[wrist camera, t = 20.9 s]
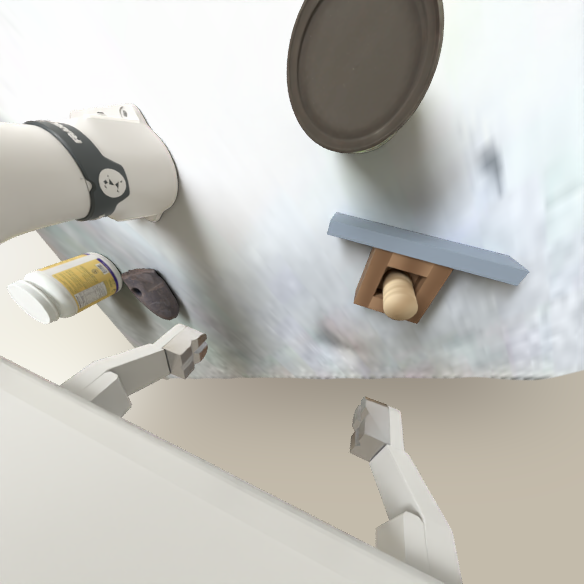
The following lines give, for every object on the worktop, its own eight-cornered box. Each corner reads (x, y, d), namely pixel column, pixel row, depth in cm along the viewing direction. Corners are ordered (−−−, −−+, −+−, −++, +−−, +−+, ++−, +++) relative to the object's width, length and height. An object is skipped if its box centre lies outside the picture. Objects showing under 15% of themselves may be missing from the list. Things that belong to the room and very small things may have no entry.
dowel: (378, 286, 36) (378, 314, 30) (388, 264, 34) (390, 290, 28) (403, 293, 36) (409, 324, 29) (415, 272, 33) (424, 300, 27)
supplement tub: (95, 281, 65) (21, 315, 52) (81, 244, 58) (-9, 271, 45) (129, 296, 64) (61, 335, 50) (119, 259, 57) (37, 293, 43)
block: (355, 289, 40) (353, 303, 36) (377, 236, 34) (376, 246, 30) (413, 307, 38) (417, 323, 34) (446, 254, 32) (454, 267, 28)
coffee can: (383, 165, 29) (386, 172, 18) (312, 137, 30) (272, 128, 19) (435, 57, 23) (490, -37, 12) (344, 27, 24) (313, -85, 13)
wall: (332, 225, 35) (327, 234, 31) (336, 212, 34) (330, 220, 30) (498, 268, 31) (516, 285, 27) (509, 255, 30) (529, 271, 26)
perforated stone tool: (189, 309, 58) (168, 326, 52) (176, 313, 60) (156, 329, 55) (153, 258, 52) (126, 271, 47) (141, 264, 55) (114, 276, 49)
